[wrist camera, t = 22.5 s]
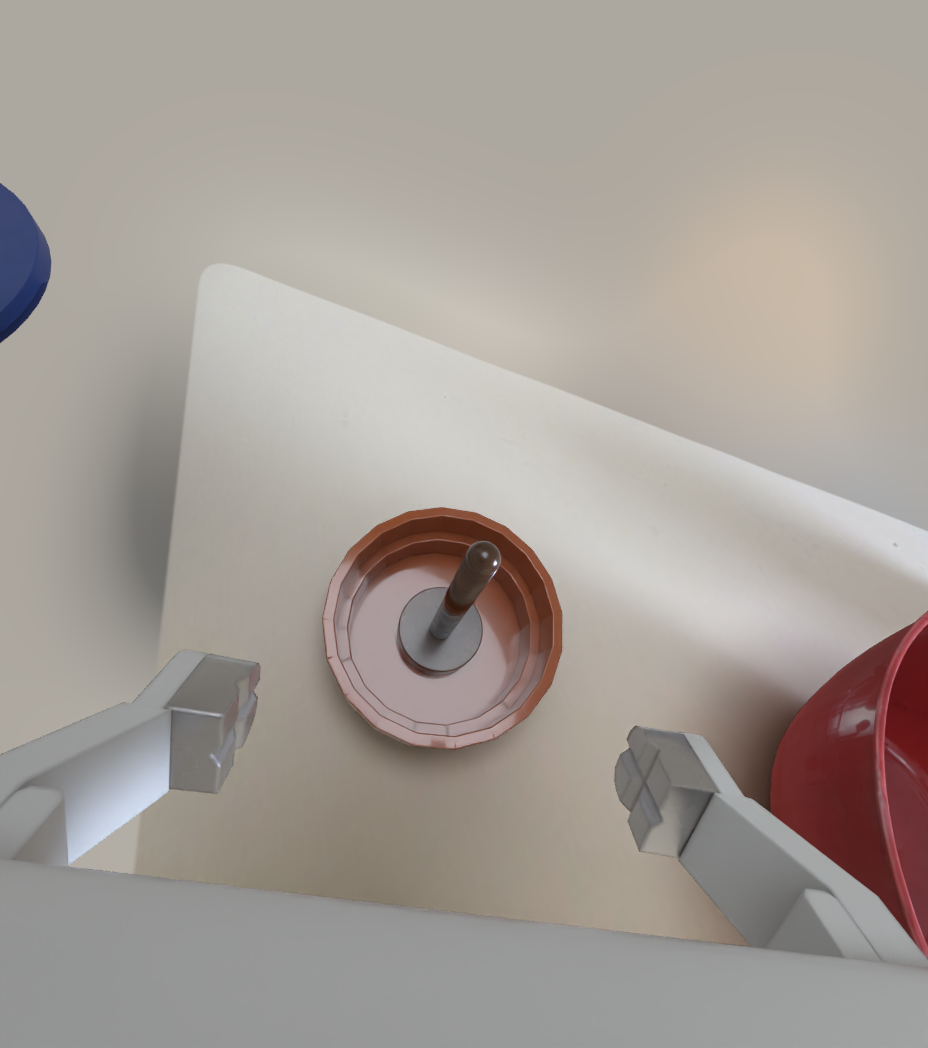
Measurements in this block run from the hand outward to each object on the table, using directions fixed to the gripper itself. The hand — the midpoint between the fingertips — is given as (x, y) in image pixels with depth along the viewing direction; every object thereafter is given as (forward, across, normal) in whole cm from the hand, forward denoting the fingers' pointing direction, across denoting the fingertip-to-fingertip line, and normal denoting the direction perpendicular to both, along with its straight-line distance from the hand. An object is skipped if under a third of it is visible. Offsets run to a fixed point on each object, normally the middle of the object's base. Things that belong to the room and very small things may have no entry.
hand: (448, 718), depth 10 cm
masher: (+22, -2, +12) cm, 26 cm away
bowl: (+23, -2, +13) cm, 26 cm away
